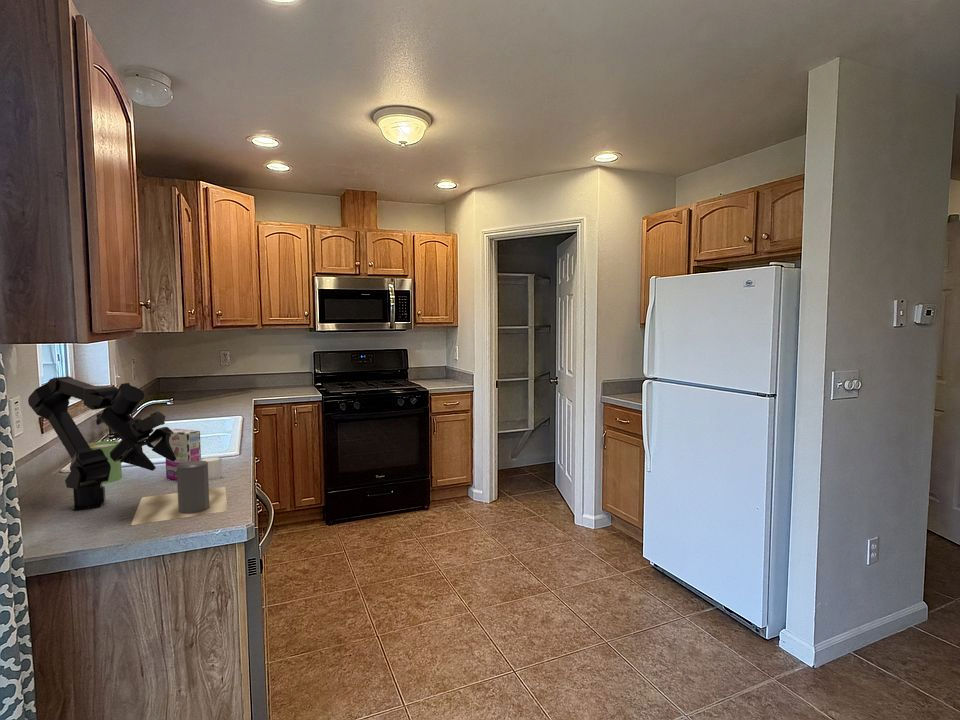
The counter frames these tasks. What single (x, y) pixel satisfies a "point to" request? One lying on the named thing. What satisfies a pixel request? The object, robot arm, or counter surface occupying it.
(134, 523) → the birch board
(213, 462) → the off-white short cylinder
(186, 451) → the candy bar box
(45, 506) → the counter surface
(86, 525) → the counter surface
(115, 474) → the mug
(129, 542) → the counter surface
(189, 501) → the grey cylinder
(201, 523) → the counter surface
